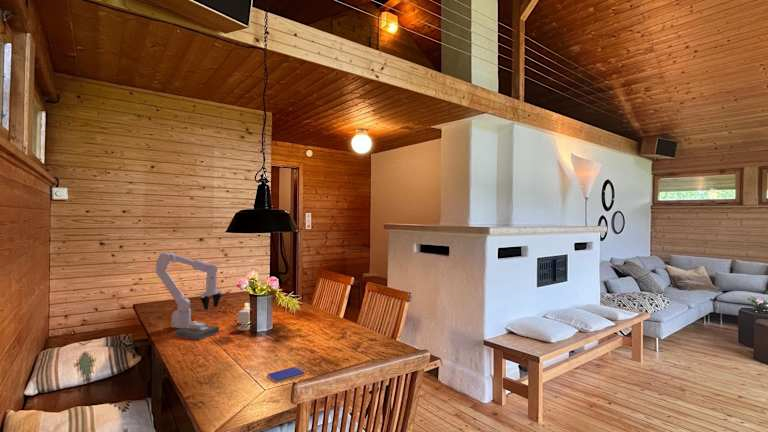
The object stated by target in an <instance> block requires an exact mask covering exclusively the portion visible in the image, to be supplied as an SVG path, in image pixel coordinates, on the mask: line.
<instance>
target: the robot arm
mask: <svg viewBox="0 0 768 432" xmlns="http://www.w3.org/2000/svg"><path fill="white" fill-rule="evenodd" d="M155 262H156V263H155V265H156V266H155V273H156V275H157V276H158V278H159V279H160V280H161V282H162V283H163V285H164V286H165V288H166V289H167V291H168V292H169V294H170V295H171V296H172V298H173V300H174V301H175V303H176V305H177V309H176V310H174V311H173V313H172V315H171V325H170V328H175V329H176V328H177V329H181V328H184V327H187V326H189V324H191V323H192V321H191V319H192V317H191V316H192V315H191V314H192V313H191V312H192V310H191V300H190V299H189V298H188V297H186V296H185V295H184V294H183V293H182V291H181V290H180V288H179V287H178V285H177V284H176V283H175V281H174V280H173V278H172V277H171V275H170V274H169V272H167V270H168V269H167V268H168V265H169V264H170V263H171V264H172V263H181V264H185V265H189V266H190V267H191V266H192V269H194V270H196V271H200V272H202V273H206V278H205V279H206V280H205V281H206V282H205V284H206V285H205V292H203V293H201V294H200V297H199V299H200V301H201V303H202V305H203V309H204V310H209V304H210V300H211V297H212V301H213V307H216V308H217V307H218V305H219V302H220V300H221V298H222V296H223V294H222V289H217V287H218V286H217V285H218V284H217V283H218V277H217V275H218V274H217V273H218V271H219V269H218V267H217V265H216V264H214V263H213V262H212V263H211V262H208V261H205V260H203V259H202V258H199V259H197V258H196V259H194V260H193V259H192V258H191V259H190V258H188V257H185V256H183V255H180V254H177V253H174V252H173V253H172V252H168V251H163V252H161V253H160V254H159V255H158V257H157V260H156V261H155ZM210 296H211V297H210Z"/></svg>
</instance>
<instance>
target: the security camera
mask: <svg viewBox="0 0 768 432" xmlns="http://www.w3.org/2000/svg"><path fill="white" fill-rule="evenodd" d="M250 310H251V309H247V308H246V309H245V308H243V309H242V310H239V311H238V312H237V320H236V321H237V323H239V324H240V326H238V327H237V328H236V329H237V331H248V330H250V329H251V328H250V326H251V325H249V323H250V322H251V321H250Z"/></svg>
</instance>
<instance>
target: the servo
mask: <svg viewBox="0 0 768 432" xmlns="http://www.w3.org/2000/svg"><path fill="white" fill-rule="evenodd" d="M205 325H206V323H204V322H197V320H194V321H192V322H191V324H189V327H186V329H190V330H197V331H204V330H206V329H208V327H205Z"/></svg>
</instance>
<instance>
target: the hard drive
mask: <svg viewBox="0 0 768 432" xmlns="http://www.w3.org/2000/svg"><path fill="white" fill-rule="evenodd" d="M304 375H305V371H303V370H301V369H300V368H299V367H297V366H292V367H289V368H285V369H280V370H278V371H274V372H270V373H267V374H266V376H267V377H268V378H269V379H270V380H272V381H273V382H274V383H280V382H284V381H287V380H291V379H294V378H299V377H302V376H304Z"/></svg>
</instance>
